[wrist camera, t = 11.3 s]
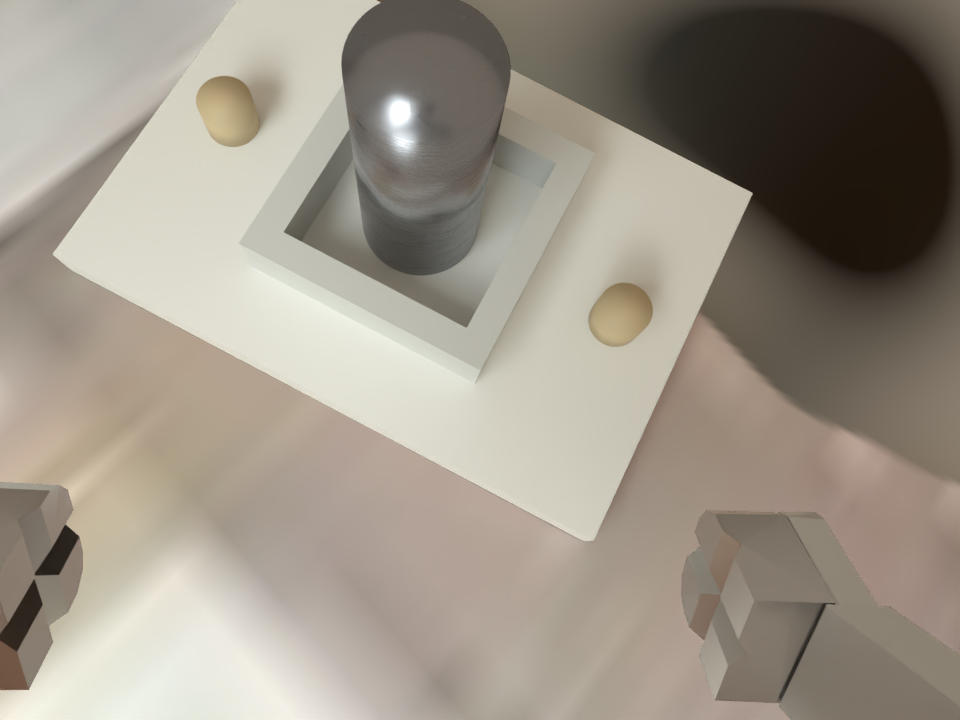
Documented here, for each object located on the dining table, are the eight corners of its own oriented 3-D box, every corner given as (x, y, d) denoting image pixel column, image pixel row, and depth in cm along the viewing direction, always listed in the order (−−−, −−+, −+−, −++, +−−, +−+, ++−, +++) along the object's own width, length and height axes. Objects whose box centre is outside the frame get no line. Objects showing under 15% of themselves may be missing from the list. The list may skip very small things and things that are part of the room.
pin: (340, 241, 27) (309, 91, 18) (397, 149, 28) (393, -34, 19) (444, 295, 27) (462, 171, 18) (497, 201, 28) (538, 40, 19)
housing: (71, 270, 27) (24, 230, 24) (280, -24, 31) (265, -95, 27) (583, 540, 27) (609, 539, 23) (736, 210, 30) (777, 167, 27)
